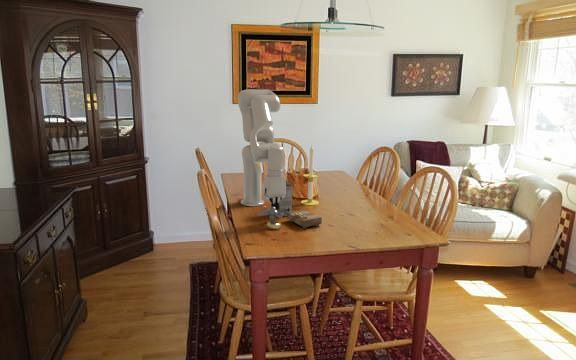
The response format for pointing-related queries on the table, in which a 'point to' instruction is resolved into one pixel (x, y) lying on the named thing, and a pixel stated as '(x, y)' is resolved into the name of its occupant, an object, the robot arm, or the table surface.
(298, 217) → the brown switch box
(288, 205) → the coffee box
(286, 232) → the table surface
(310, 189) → the candle
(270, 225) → the capstan
